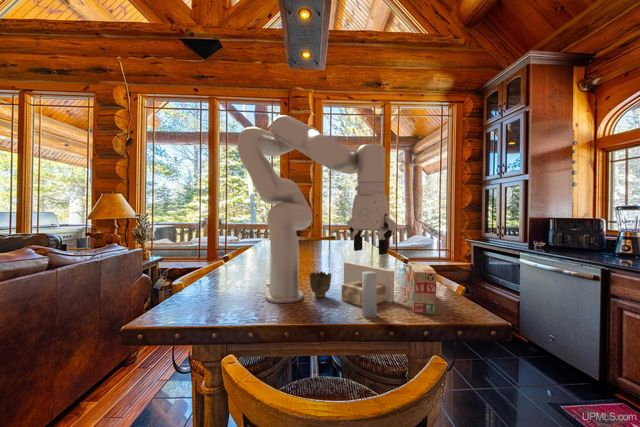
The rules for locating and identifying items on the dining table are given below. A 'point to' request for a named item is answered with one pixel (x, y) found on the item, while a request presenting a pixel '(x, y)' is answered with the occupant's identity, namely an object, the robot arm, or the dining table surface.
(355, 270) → the backstop wall
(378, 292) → the socket block
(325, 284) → the cup
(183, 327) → the dining table surface
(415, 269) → the stack of blocks
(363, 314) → the dowel
